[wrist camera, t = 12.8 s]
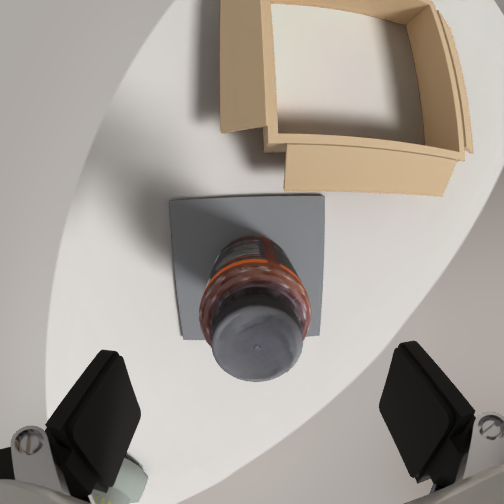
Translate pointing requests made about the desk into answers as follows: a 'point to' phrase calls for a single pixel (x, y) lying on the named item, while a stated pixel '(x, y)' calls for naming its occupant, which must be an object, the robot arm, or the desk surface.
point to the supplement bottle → (254, 310)
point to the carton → (346, 147)
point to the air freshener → (124, 486)
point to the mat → (238, 225)
